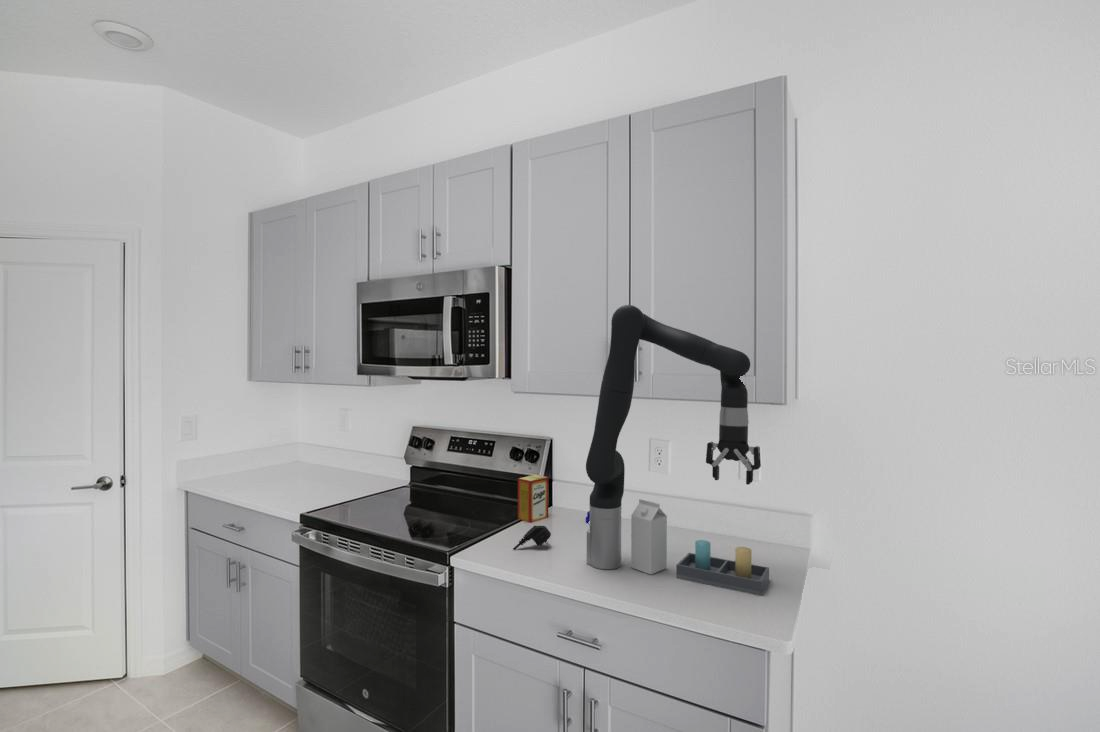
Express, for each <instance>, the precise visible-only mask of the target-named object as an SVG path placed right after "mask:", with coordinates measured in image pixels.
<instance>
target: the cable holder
mask: <svg viewBox="0 0 1100 732" xmlns="http://www.w3.org/2000/svg"><path fill="white" fill-rule="evenodd" d="M589 521H590V510H589V511H587V512H586V516H585V523H586V524H589V523H588V522H589Z"/></svg>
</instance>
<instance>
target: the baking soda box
mask: <svg viewBox="0 0 1100 732" xmlns="http://www.w3.org/2000/svg"><path fill="white" fill-rule="evenodd" d="M518 518H519V519H521V520H520V521H523V522H525V523H529V524H531V523H534V522H538V521H542V520H545V519H548V518H549V476H545V475H540V474H533V475H527V476H524V477H519V478H517V519H518ZM519 519H518V520H519Z"/></svg>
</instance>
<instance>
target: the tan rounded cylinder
mask: <svg viewBox="0 0 1100 732" xmlns="http://www.w3.org/2000/svg"><path fill="white" fill-rule="evenodd" d="M734 551H735V552H734V553H735V557H734V558H735V560H734V561H735V576H739V577H744V578H749V579H751V564H752V549H751V548H749V547H746V546H737V547H735V550H734Z"/></svg>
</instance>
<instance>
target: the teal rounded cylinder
mask: <svg viewBox="0 0 1100 732" xmlns="http://www.w3.org/2000/svg"><path fill="white" fill-rule="evenodd" d="M694 544H695V545H694V546H695V547H694V548H695V549H694V550H695V551H694V552H695V553H694V554H695V568H699V569H704V570H709V571H710V557H711V542H710V541H708V540H704V539H698V540H695V543H694Z"/></svg>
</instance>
